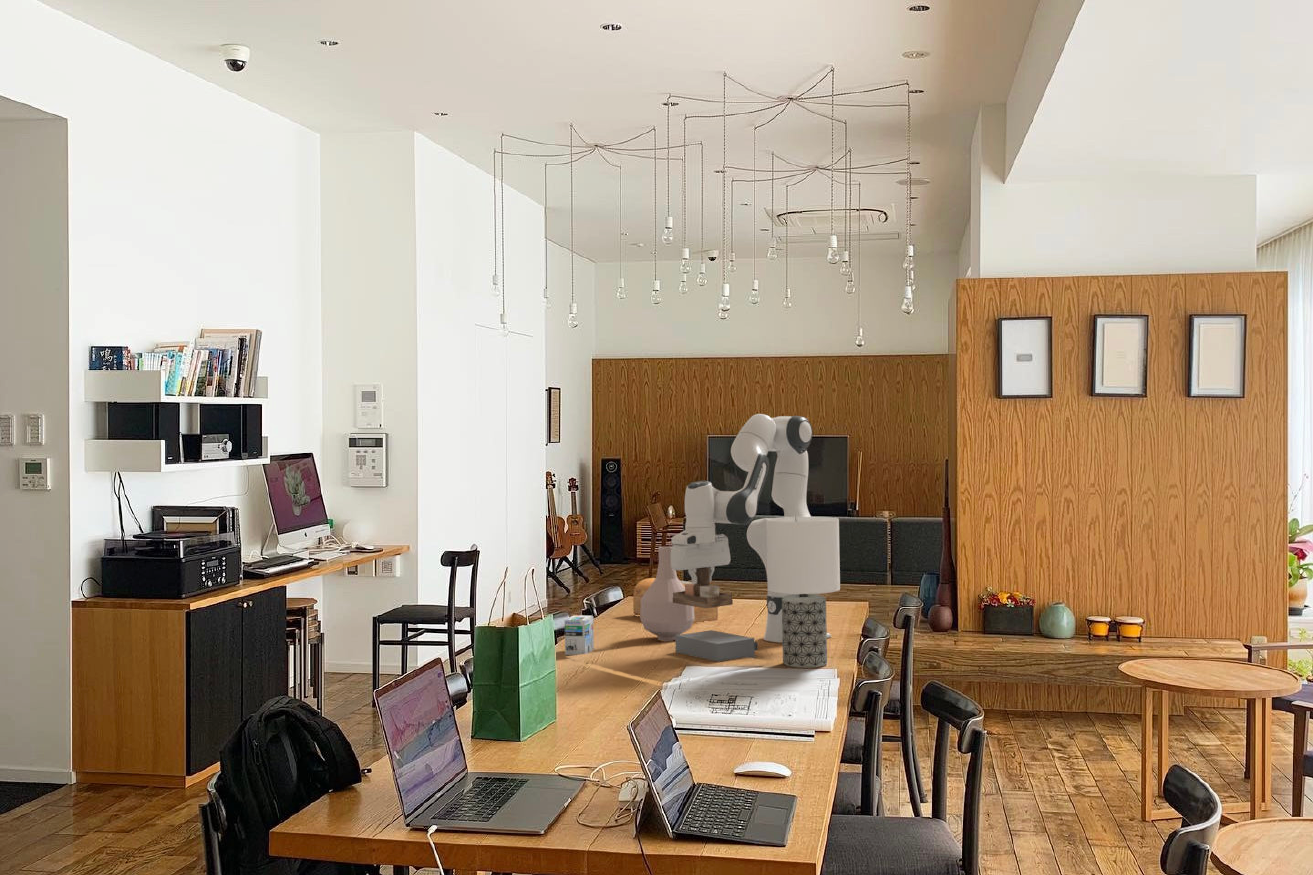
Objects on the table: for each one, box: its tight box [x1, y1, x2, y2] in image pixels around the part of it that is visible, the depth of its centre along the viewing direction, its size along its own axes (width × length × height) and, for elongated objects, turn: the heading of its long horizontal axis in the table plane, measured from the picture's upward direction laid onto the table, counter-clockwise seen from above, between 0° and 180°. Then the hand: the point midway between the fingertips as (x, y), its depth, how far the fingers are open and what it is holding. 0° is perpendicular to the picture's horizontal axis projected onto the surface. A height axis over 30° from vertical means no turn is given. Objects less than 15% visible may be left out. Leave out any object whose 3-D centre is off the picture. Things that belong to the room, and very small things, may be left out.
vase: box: [639, 546, 695, 642], centre depth 382 cm, size 18×18×30 cm
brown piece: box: [673, 567, 734, 608], centre depth 348 cm, size 10×16×10 cm, turn 36°
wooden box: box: [632, 577, 719, 624], centre depth 428 cm, size 30×16×14 cm, turn 40°
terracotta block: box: [685, 583, 695, 596], centre depth 351 cm, size 4×4×4 cm
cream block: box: [700, 584, 720, 598], centre depth 345 cm, size 4×4×4 cm
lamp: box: [766, 516, 841, 669], centre depth 336 cm, size 21×21×42 cm
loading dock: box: [675, 629, 759, 663], centre depth 350 cm, size 15×20×6 cm
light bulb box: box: [564, 614, 595, 656], centre depth 362 cm, size 11×7×11 cm, turn 169°
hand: (701, 582), depth 348 cm, fingers closed on brown piece, 3 cm apart
